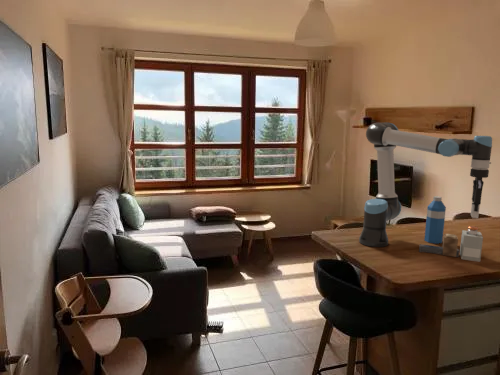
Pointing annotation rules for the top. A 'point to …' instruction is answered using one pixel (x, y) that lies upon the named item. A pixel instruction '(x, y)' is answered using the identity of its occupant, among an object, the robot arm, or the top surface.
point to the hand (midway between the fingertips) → (474, 216)
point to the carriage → (450, 245)
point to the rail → (433, 249)
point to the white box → (471, 246)
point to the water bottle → (435, 221)
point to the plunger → (472, 230)
